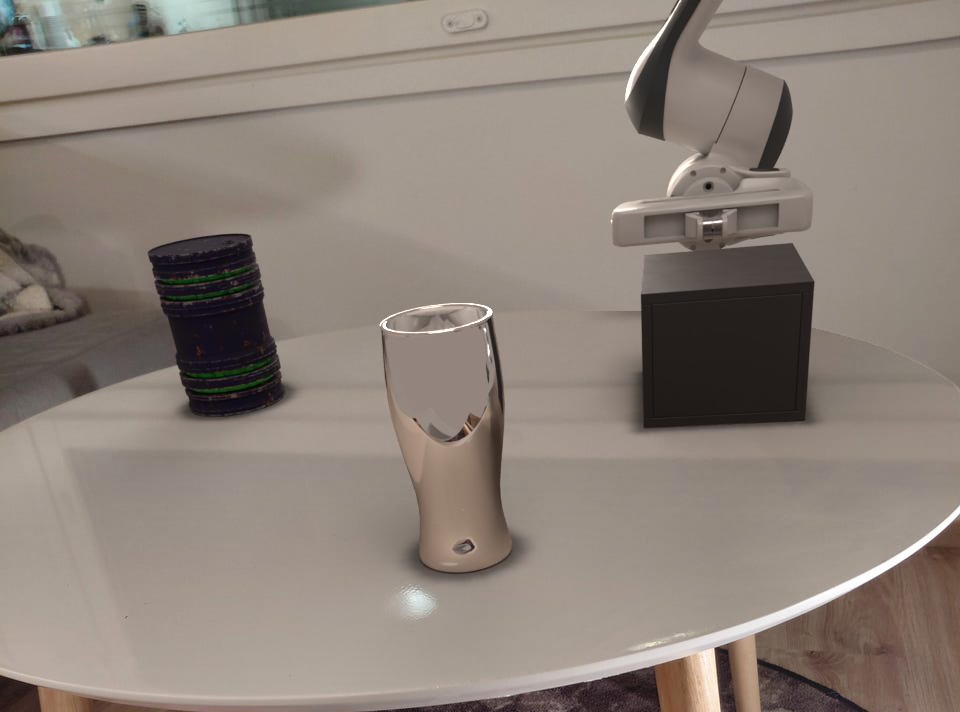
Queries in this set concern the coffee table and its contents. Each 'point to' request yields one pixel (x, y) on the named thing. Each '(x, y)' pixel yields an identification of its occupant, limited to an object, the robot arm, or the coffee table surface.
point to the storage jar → (218, 323)
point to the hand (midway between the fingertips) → (712, 229)
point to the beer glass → (450, 429)
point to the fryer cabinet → (725, 336)
